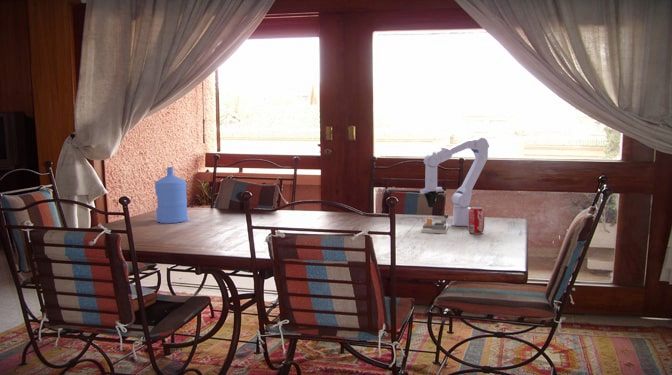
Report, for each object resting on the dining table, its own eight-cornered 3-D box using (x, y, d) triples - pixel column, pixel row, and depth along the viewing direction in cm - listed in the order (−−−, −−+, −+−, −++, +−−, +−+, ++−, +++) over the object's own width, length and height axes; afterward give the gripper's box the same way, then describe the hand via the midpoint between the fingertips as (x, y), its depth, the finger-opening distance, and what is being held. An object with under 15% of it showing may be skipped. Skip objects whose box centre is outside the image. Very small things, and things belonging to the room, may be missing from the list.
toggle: (445, 224, 300) (449, 214, 299) (445, 225, 299) (448, 215, 298) (441, 222, 301) (445, 213, 300) (441, 223, 299) (444, 214, 298)
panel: (448, 226, 303) (448, 219, 303) (445, 233, 287) (445, 225, 286) (425, 225, 306) (425, 218, 305) (421, 232, 290) (421, 224, 289)
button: (443, 227, 292) (444, 222, 292) (443, 229, 288) (443, 224, 288) (435, 227, 293) (435, 222, 293) (434, 228, 289) (434, 223, 289)
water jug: (194, 220, 326) (192, 166, 323) (171, 224, 313) (169, 169, 310) (173, 217, 335) (170, 165, 331) (150, 222, 321) (147, 168, 318)
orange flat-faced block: (432, 224, 300) (432, 217, 299) (431, 225, 297) (431, 218, 297) (427, 224, 300) (427, 217, 300) (426, 225, 298) (426, 218, 297)
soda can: (485, 232, 289) (486, 206, 287) (482, 235, 282) (482, 208, 281) (470, 231, 292) (470, 205, 290) (466, 233, 285) (467, 208, 284)
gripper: (428, 181, 294) (427, 209, 296) (447, 178, 304) (446, 206, 306) (416, 180, 299) (416, 208, 301) (435, 177, 309) (435, 204, 311)
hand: (430, 207), depth 304 cm, fingers closed
